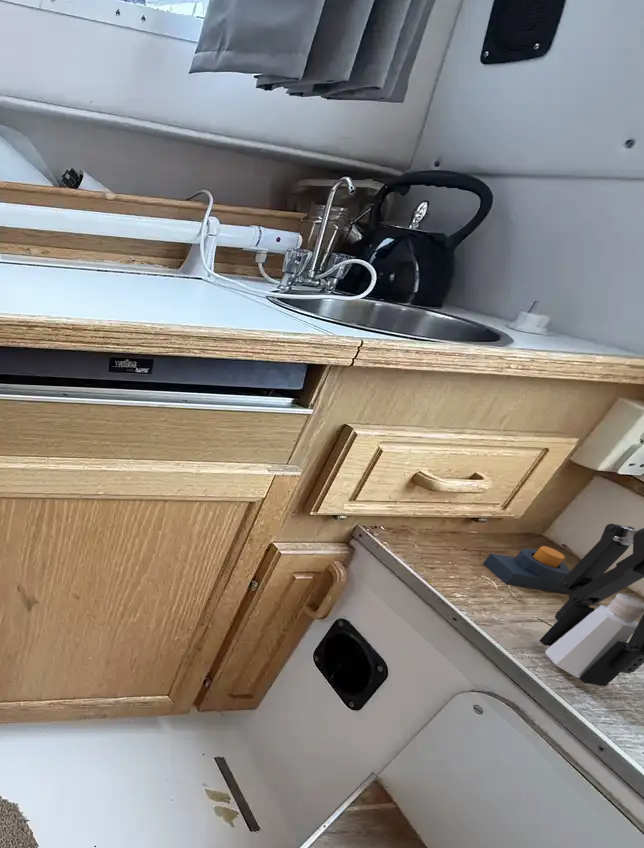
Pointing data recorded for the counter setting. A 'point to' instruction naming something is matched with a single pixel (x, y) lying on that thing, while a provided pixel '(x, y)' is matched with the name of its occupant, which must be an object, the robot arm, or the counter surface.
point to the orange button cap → (549, 556)
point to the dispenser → (527, 571)
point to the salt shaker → (596, 634)
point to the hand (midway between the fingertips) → (571, 662)
